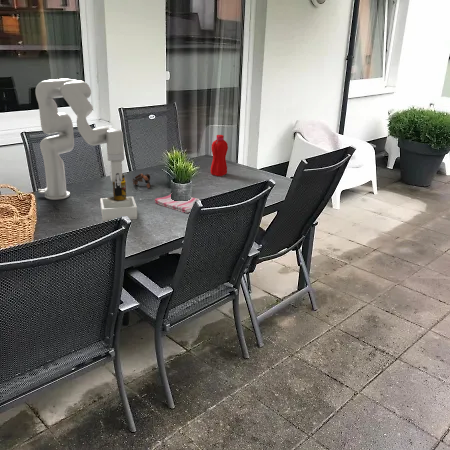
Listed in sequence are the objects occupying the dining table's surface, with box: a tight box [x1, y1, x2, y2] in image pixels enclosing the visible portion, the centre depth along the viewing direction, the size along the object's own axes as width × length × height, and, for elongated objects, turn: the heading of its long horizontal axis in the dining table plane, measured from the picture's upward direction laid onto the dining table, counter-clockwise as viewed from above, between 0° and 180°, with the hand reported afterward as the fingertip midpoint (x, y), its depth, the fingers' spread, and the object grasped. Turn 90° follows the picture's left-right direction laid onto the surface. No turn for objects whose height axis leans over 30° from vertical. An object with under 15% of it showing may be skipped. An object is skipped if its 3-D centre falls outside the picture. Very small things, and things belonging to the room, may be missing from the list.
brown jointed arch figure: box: [131, 173, 151, 189], centre depth 270 cm, size 12×10×8 cm
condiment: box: [107, 173, 129, 203], centre depth 224 cm, size 7×8×12 cm
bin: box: [99, 196, 138, 222], centre depth 228 cm, size 16×15×6 cm
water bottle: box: [210, 134, 229, 177], centre depth 291 cm, size 9×11×25 cm
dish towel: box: [154, 193, 200, 214], centre depth 245 cm, size 17×23×4 cm
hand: (117, 193), depth 225 cm, fingers closed on condiment, 6 cm apart
